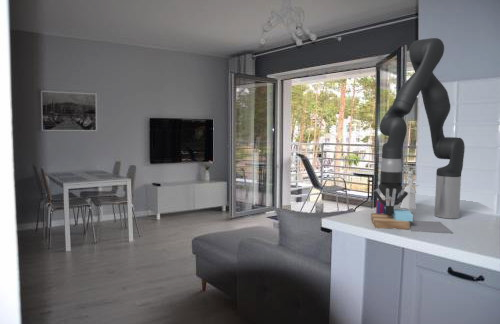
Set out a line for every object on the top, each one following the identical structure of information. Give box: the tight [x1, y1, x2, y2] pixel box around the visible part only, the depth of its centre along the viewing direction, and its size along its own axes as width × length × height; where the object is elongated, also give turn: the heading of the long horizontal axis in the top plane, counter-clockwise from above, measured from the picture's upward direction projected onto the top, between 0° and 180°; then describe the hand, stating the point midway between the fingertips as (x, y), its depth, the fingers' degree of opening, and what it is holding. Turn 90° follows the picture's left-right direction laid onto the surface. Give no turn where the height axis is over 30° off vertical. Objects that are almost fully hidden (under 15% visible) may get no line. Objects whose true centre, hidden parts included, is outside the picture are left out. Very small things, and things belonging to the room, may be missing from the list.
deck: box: [370, 212, 410, 230], centre depth 149 cm, size 14×12×2 cm
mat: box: [409, 220, 454, 234], centre depth 146 cm, size 16×14×1 cm
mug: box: [375, 199, 390, 214], centre depth 163 cm, size 7×10×7 cm
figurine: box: [399, 169, 420, 210], centre depth 182 cm, size 7×8×18 cm
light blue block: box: [392, 208, 414, 222], centre depth 148 cm, size 9×6×2 cm, turn 168°
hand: (389, 215), depth 149 cm, fingers closed
